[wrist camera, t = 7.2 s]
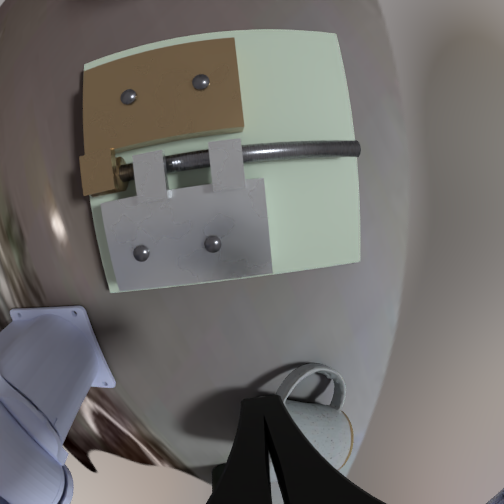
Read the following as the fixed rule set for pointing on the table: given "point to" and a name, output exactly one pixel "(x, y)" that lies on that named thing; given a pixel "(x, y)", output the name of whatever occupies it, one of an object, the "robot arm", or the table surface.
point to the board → (278, 130)
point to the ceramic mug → (320, 417)
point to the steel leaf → (189, 224)
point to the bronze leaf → (172, 113)
